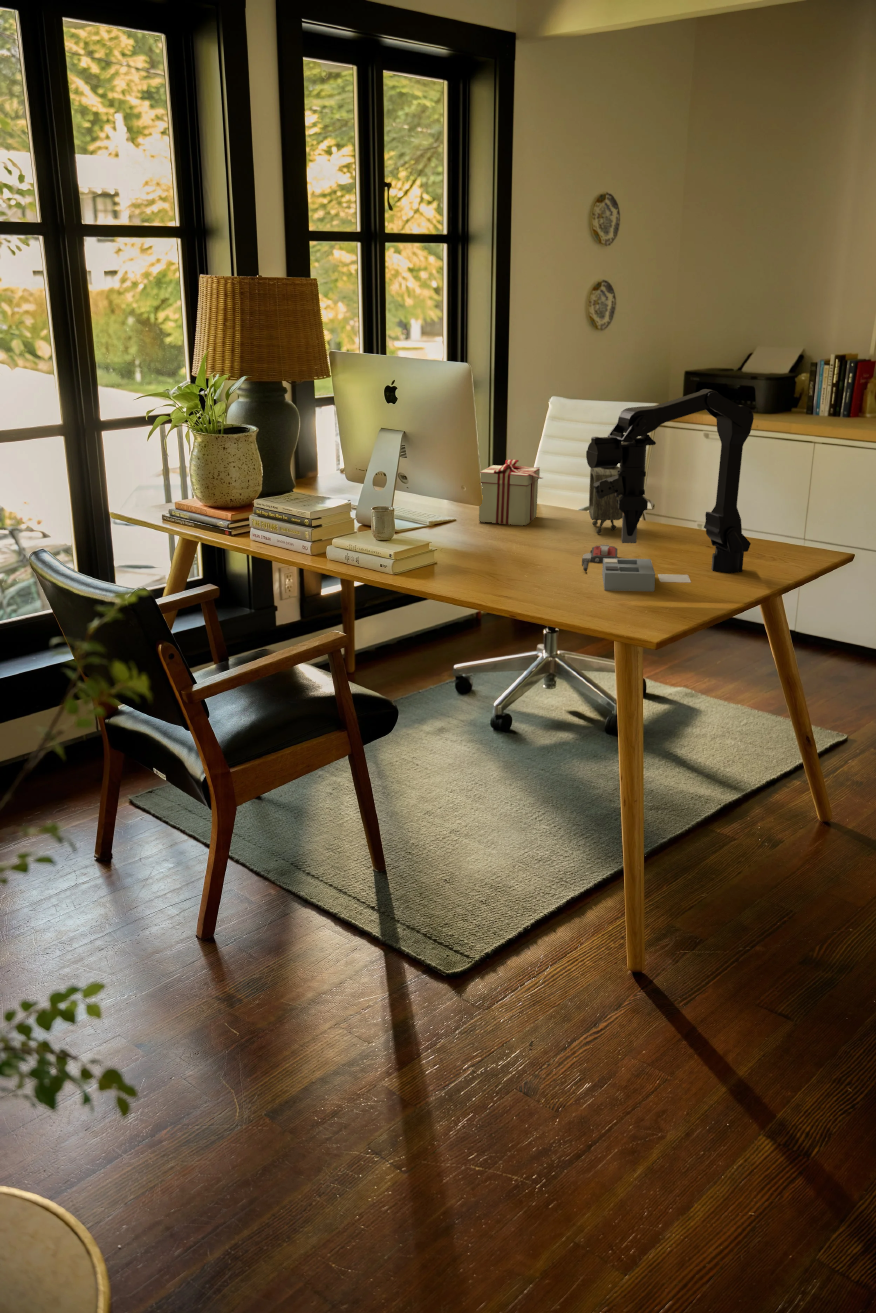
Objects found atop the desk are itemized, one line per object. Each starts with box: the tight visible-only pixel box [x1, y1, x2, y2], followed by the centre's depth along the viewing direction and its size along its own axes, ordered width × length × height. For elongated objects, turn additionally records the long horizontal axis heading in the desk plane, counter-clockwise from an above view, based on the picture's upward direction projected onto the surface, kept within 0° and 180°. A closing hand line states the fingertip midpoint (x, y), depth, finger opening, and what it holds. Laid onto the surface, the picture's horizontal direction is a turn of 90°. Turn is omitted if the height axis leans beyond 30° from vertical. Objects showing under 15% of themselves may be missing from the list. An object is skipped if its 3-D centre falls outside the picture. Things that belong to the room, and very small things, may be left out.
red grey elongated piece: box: [581, 544, 619, 572], centre depth 269 cm, size 9×4×20 cm
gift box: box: [478, 459, 543, 526], centre depth 320 cm, size 17×18×17 cm
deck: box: [657, 573, 692, 584], centre depth 252 cm, size 7×7×1 cm
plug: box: [621, 513, 638, 544], centre depth 248 cm, size 3×3×8 cm
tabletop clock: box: [588, 465, 623, 535], centre depth 303 cm, size 14×9×25 cm, turn 178°
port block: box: [601, 557, 656, 592], centre depth 248 cm, size 11×14×5 cm
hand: (629, 534), depth 248 cm, fingers closed on plug, 3 cm apart
